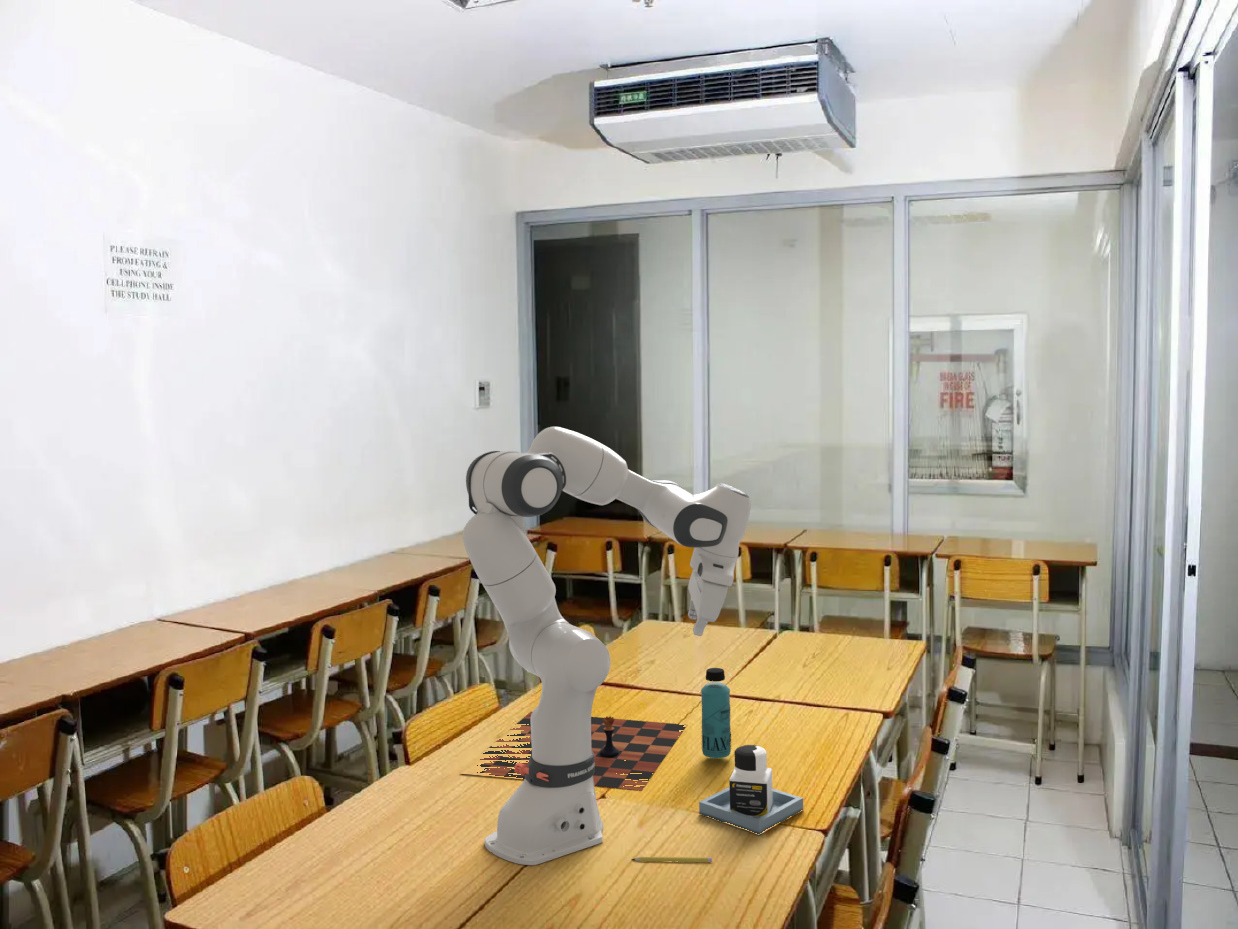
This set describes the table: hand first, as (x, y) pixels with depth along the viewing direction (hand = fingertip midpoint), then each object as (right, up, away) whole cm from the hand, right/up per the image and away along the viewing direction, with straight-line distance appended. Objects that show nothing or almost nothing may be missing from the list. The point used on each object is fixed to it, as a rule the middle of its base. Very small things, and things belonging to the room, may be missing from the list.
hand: (694, 626), depth 214 cm
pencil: (-6, -36, -33) cm, 49 cm away
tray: (+10, -33, -15) cm, 38 cm away
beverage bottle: (+6, -31, +13) cm, 34 cm away
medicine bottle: (+10, -33, -15) cm, 37 cm away
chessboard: (-24, -32, +22) cm, 46 cm away
